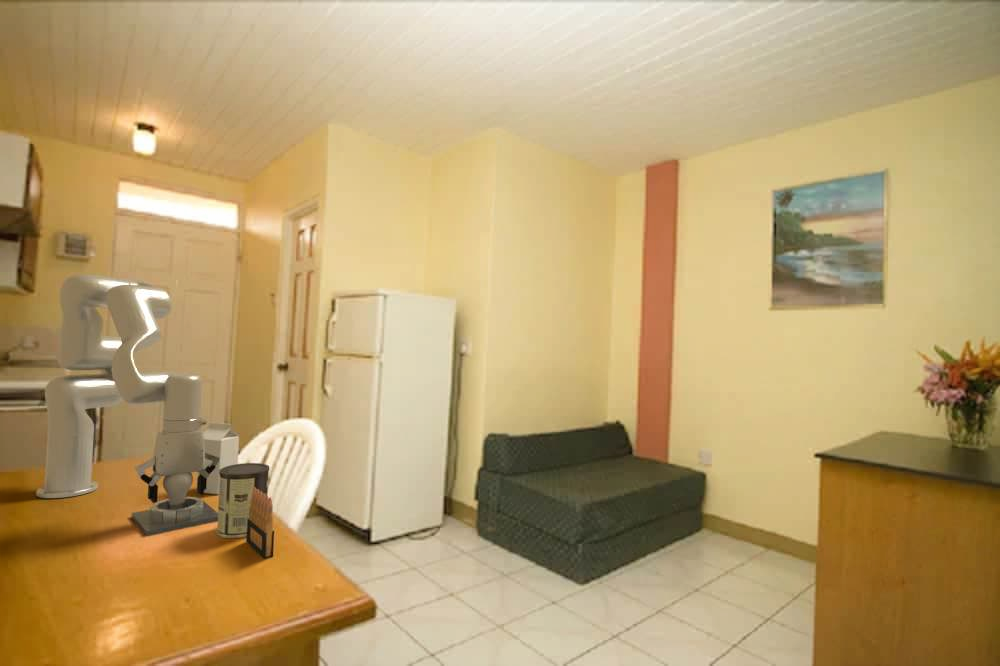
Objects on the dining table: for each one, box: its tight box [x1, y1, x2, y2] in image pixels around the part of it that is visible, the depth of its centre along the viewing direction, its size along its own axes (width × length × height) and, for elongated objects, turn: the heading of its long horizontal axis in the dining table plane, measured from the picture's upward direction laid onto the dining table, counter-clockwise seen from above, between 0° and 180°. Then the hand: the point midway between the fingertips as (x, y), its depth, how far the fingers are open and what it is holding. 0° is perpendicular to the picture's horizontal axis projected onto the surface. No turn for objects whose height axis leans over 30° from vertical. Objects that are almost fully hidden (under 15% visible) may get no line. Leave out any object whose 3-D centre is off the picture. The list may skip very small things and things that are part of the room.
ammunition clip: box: [245, 487, 275, 559], centre depth 104 cm, size 11×2×12 cm, turn 45°
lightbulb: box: [162, 472, 194, 510], centre depth 118 cm, size 6×6×11 cm
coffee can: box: [216, 462, 270, 539], centre depth 113 cm, size 10×10×14 cm
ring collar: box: [131, 496, 218, 537], centre depth 118 cm, size 15×15×4 cm
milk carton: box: [196, 422, 240, 495], centre depth 140 cm, size 7×7×19 cm
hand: (177, 497), depth 118 cm, fingers open, 9 cm apart
